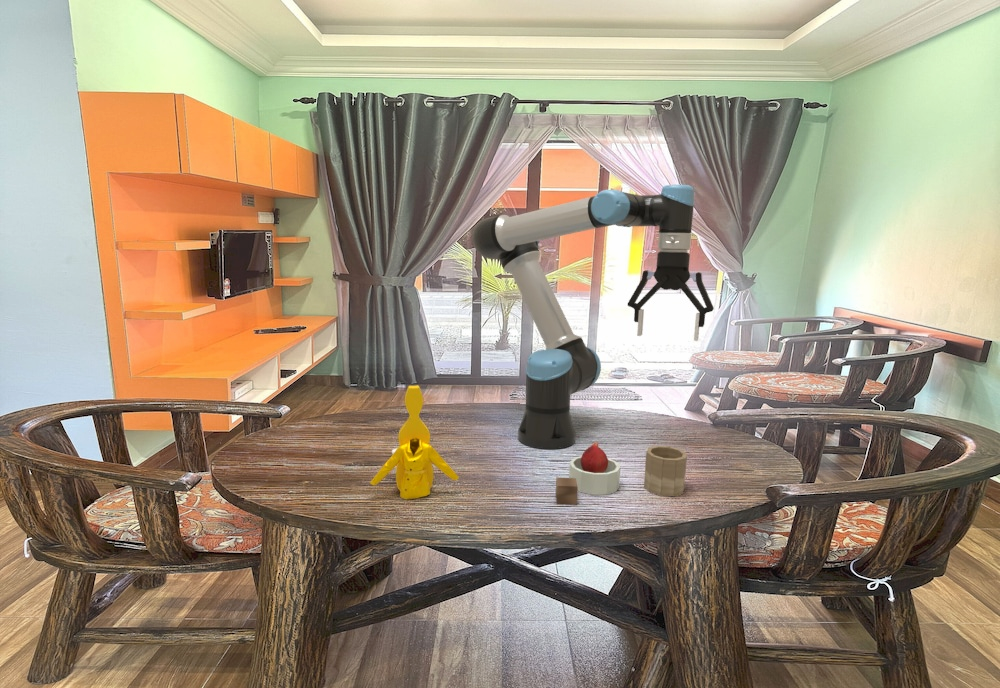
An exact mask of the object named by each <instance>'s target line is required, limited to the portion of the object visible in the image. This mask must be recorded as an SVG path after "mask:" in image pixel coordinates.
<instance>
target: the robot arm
mask: <svg viewBox="0 0 1000 688" xmlns="http://www.w3.org/2000/svg"><path fill="white" fill-rule="evenodd" d="M694 201H695V189H694V188H693V186H691V185H688V184H670V185H669V184H668V185H664V186H662V188H661V192H660V194H651V195H647V194H645V195H644V194H643V195H642V194H641V195H640V194H639V195H638V194H635V193H629V192H625V191H621V190H619V189H613V188H612V189H603V190H601V191H600V192H598V193H597V194H596V195H593V196H588V197H584V198H580V199H576V200H573V201H569V202H565V203H561V204H558V205H552V206H549V207H544V208H540V209H536V210H534V211H533V210H532V211H529V212H525V213H521V214H517V215H513V216H509V215H507V214H500V215H496V216H491V217H486V218H484V219H482V220H480V221H479V222H478V223H477V224H476V225H475V227H474V229H473V232H472V240H471V241H472V244H473V247H474V249H475V251H476V252H477V253H478V254H479V255H480V256H482V257H484V258H485V259H489V260H499V262H500V265H501V267H502V269H503V271H504V272H506V273H508V274H511V275H512V277H513V280H514V282H515V284H516V286H517V288H518V290H519V292H520V294H521V296H522V297H521V298H523V301H524V304H525V305H526V307H527V309H528V312H529V313H530V316H531V317H532V320H533V323H534V325H535V326H536V329H537V330H538V332H539V335H540V337H541V339H542V341H543V343H544V345H545V349H540V350H537V351H534V352H532V353H531V354H529V356H528V358H527V360H526V366H525V373H526V374H525V375H526V376H525V378H526V379H525V381H526V383H525V411H524V413H523V416H522V419H521V421H520V424H519V427H518V432H517V437H518V439H517V440H518V441H519V442H520V443H522V444H523V445H526V446H528V447H531V448H535V449H536V448H537V449H545V450H551V449H552V450H556V449H564V448H567V447H570V446H572V445H574V444H575V442H576V430H575V427H574V423H573V421H572V420H573V419H572V416H571V411H570V410H571V408H570V407H571V395H573V394H575V393H579V392H580V391H585V390H586V389H589V388H590V387H591V386H592V385H594V384H595V383H596V382H597V381H598V379H599V377H600V374H601V369H602V365H601V360H600V357H599V355H598V354H597V353H596V351H594V350H593V349H591V348H589V347H587V346H586V344H585V342H584V340H583V338H582V337H581V336H579V335H577V334H574V332H573V330H572V328H571V326H570V323H569V322H568V320H567V317H566V315H565V313H564V311H563V309H562V308H561V305H560V302H559V301H558V299H557V296H556V295H555V292H554V291H553V289H552V286H551V285H550V282H549V281H548V278H547V276H546V273H544V269H543V268H542V266H541V264H540V261H539V259H540V256H541V252H540V250H539V246H540V245H539V244H540V241H544V240H549V239H552V238H557V237H561V236H566V235H571V234H576V233H580V232H584V231H585V232H586V231H590V230H594V229H601V228H605V227H609V226H618V227H626V228H631V227H658V228H659V229H658V241H657V242H658V243H657V249H658V250H659V251H658V252H657V253H656V254H657V256H656V269H655V271H650V270H647V269H646V270H644V271H642V276H641V280H640V281H639V283H638V284H637V286H636V289H635V290H634V292H633V293H632V295H631V297H630V298H629V300H628V302H627V306H628V307H630V308H632V309H634V315H633V321H634V323H637V331H636V332H637V335H636V336H637V337H641V336H643V330H644V329H643V327H644V313H645V311H644V310H645V309H643V308H642V307H643V306H645V304H646V303H647V302H648V301H649V300H650V299H651V298H652V297H653V296H654V295H655V294H656V293H657V292H658V291H659V290H660V289H663V290H664V291H665V290H666V291H668V290H672V291H678V290H681V291H682V292H683V294H685V296H686V297H687V298H688V299H689V301H690V302H691V304H692V305H693V307H695V309H696V310H697V311H698V312H696V314H695V323H694V336H693V341H694V342H698V340H699V335H700V328H704V326H705V322H706V319H705V318H706V314H707V313H711V312H713V310H714V309H715V308H714V307H715V306H714V305H713V303H712V300H711V299H710V296H709V293H708V292H707V289H706V286H705V285H704V282H703V273H702V272H701V271H698V272H694V273H693V272H690V271H689V270H690V269H689V268H690V256H691V254H690V253H689V252H688V251H690V250H691V245H692V228H693V219H694V218H693V217H694V216H693V215H694V208H695V202H694ZM653 277H654V279H655V281H656V283H655V284H654V285H653V286H652V288H650V290H649V291H648V292H647V293H646V294H645V295H644V296H643V297H642V298H641V299H640V300H639V301H638V302H637V300H638V298H639V297H640V295H641V293H642V292H643V290H644V288H645V286H646V284H647V283H648V281H649V280H651V279H652V278H653ZM690 278H691V280H692V281H693V282H694V283H695V284H696V286H697V289H698V292H699V293H700V296H701V298H702V301H703V302H704V305H705V307H704V306H703V304H702V303H701V302H700V300H699V299H698V298H697V297H696V296H695V294H694V293H693V291H692V290H691V289H690V287H689V286H688V284H687V282H688V281H689V280H690Z"/></svg>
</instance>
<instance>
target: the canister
mask: <svg viewBox="0 0 1000 688" xmlns="http://www.w3.org/2000/svg"><path fill="white" fill-rule="evenodd" d="M645 454H646V455H645V467H644V481H643V483H644V484H643V487H644V488H645V490H647V492H649V493H650V492H651V494H653V493H654V495H656V494H657V495H658V496H659V495H660V497H668V496H675V497H678V496H677V495H679V496H681V495H680V494H682V495H684V492H685V485H686V471H687V459H688V453H687V452H685V451H683V449H681V448H676V447H672V446H670V445H669V446H665V445H655V446H651V447H648V448H647V450H646V452H645ZM683 491H684V492H683Z"/></svg>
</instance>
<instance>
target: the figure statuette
mask: <svg viewBox="0 0 1000 688" xmlns="http://www.w3.org/2000/svg"><path fill="white" fill-rule="evenodd" d="M404 405H405V408H406V411H407V412H408V415H409V416H408V417H407V419H406V420H405V422H404V423H403V425H402V426H401V428H399V431H398V437H397V438H398V444H399V446H397V449H396V448H395V449H396V451H395V452H394V454H391V456H390V457H389V459H387V461H386V462H385V463H384V464H383V465H382V466H381V468H380V469H379V470H378V472H377V473H376V474H375V475H374V477H373V478H372V480H371V481H370V482H369V483H370V485H372V486H377V485H378V484H379V483H380V482H381V481H382V480H383V479H384V478H385V477H386V476H387V475H389V474H390V472H392V471H393V470H394V469H395V482H396V487H397V489H398V491H400V492H399V497H400V498H401V499H403V500H414V499H420V498H421V497H427V496H428V495H430V494H431V488H432V486H433V482H434V468H433V465H434V466H435V467H436V468H437V469H438V470H440V471H441V472H442V473H443V474H445V476H447V477H448V478H449V479H450V480H452V481H453V482H454V481H457V480H459V479H460V476H459V475H458V474H457V473H456V472H455V471H454V470H453V468H452V467H451V466H450V465H449V464H448V463H447V462H446V461H445V460H444V458H443V457H442V455H440V453H439V452H438V451H437V450H436V449H435V448H434V447H433V446H432V445H431V444H430V442H431V434H430V430H429V428H428V427H427V425H426V424H425V423H424V422H423V420H422V419H421V418H420V416H419V415H420V413H421V411H422V409H423V406H424V396H423V393H422V390H421V388H420V386H419V385H418V384H417V385H408V386H407V389H406V392H405V395H404Z"/></svg>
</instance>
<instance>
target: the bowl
mask: <svg viewBox="0 0 1000 688" xmlns="http://www.w3.org/2000/svg"><path fill="white" fill-rule="evenodd" d="M581 457H582V455H580V456H577V457H573V458H572V459H571V460H570V461H569V469H568V470H569V471H568V478H576V481H577V485H578V491H577V492H580V493H583V494H587V495H591V496H599V495H600V496H605V495H606V496H608V495H611V494H614V493H616V492H617V491H618V490H619V488H620V480H621V479H620V477H621V466H620V464H619V463H618V461H615V460H614V459H612V458H609V457H607V458H608V467H607V469H606V471H605V472H604V473H592V472H586V471H583V469H582V467H581Z"/></svg>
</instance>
